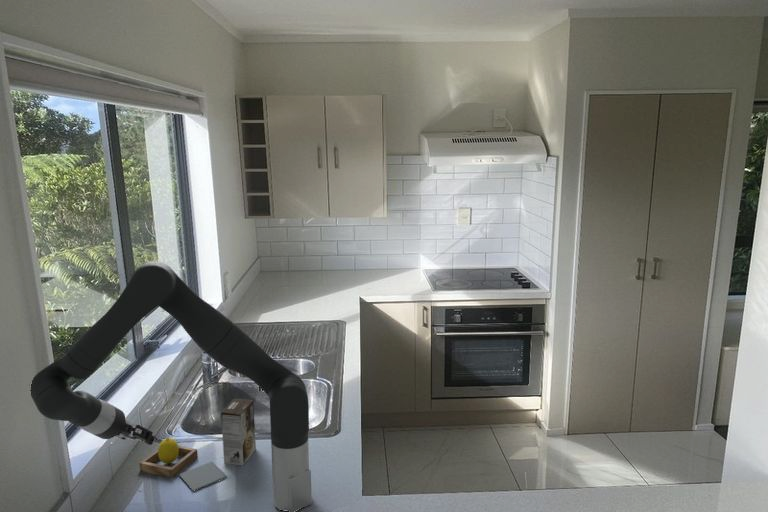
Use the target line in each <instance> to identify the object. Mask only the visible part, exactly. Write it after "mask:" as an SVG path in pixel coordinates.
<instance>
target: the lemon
mask: <svg viewBox="0 0 768 512" xmlns="http://www.w3.org/2000/svg"><path fill="white" fill-rule="evenodd" d="M178 446H179V445H178V442H177V441H176V440H175V439H173V438H171V437H170V438H169V437H167V438H165V439H163V440H162V441H160V443H159V445H158V448H157V449H158V456H159V460H160V461H161V462H162V463H163V464H167V465H171V464H172V463H173V462H175V461H176V460H177V459H178V457H179V455H178V454H179V447H178Z"/></svg>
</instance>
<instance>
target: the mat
mask: <svg viewBox="0 0 768 512" xmlns="http://www.w3.org/2000/svg"><path fill="white" fill-rule="evenodd" d="M178 476H179V478H180V477H181V478H182V479H183V480H184V481H185V482H186V483H187V484H188V485H189V486H190V487H191V489H192V490H193V491H194V490H197V489H199V490H201V489H203V488H202V487H204V488H205V486H206V487H208V486H210V484H211V485H213V484H215V483H218V482H220V481H222V480H224V478H225V479H227V478H228V475H227V474H226V473H225V472H224V471H223V470H222V469H221V468H219V466H217V464H216V463H215V462H214V461H208V462H207V463H204V464H202V465H199V466H196V467H194V468H191V469H189V470H187V471H186V470H185V471H184V472H182V473H178ZM226 477H227V478H226ZM181 478H180V479H181ZM182 479H181V480H182ZM221 479H222V480H221ZM183 480H182V481H183ZM219 480H220V481H219ZM184 481H183V482H184ZM217 481H218V482H217ZM185 482H184V483H185ZM186 483H185V484H186ZM212 483H213V484H212ZM187 484H186V485H187ZM188 485H187V486H188ZM207 485H208V486H207ZM200 488H201V489H200ZM191 489H190V490H191ZM192 490H191V491H192ZM193 491H192V492H193ZM197 491H198V490H197ZM194 492H195V491H194Z"/></svg>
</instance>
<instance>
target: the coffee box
mask: <svg viewBox="0 0 768 512" xmlns="http://www.w3.org/2000/svg"><path fill="white" fill-rule="evenodd" d="M220 415H221V416H220V418H221V419H220V421H221V434H222V451H223V463H224V464H225V465H226V464H227V465H236V466H245V464H246V463H247V462H248V460H249V459H250V457H252V455H253V454H254V452H255V451H256V450H257V449H256V448H257V444H256V442H257V441H256V429H255V428H256V425H255V424H256V423H255V409H254V400H253V399H245V398H232V400H231V401H230V402H229V403H228V404H227V405H226V407H224V409H222V411H221V412H220Z"/></svg>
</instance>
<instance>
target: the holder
mask: <svg viewBox="0 0 768 512" xmlns="http://www.w3.org/2000/svg"><path fill="white" fill-rule="evenodd" d="M178 447H179V454H178V457H179V456H181V457H182V458H181V459H179V460H178V461H177V462H176V463H175V464H174V465H172V466H167V465H162V464H158V463H156V462H157V461H159V460H160V459H159V456H158V448H157V449H156V450H155V451H154V452H152V453H151V454H149V455H148V456H147V457H145V458H144V459H143V460H140V462H139V463H138V464H139V471H140V472H142V473H143V472H144V473H148V474H152V475H157V476H161V477H166V478H171V479H173V478H175V477H176V476H177V475H179V474H180V472H182V471H183V470H184V469H186V467H188V466H189V465H190V464H191V463H192V462H194V461H195V460H196V459H197V458H198V457H199V454H198V449H197V448H193V447H187V446H181V445H178ZM158 459H159V460H158Z"/></svg>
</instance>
